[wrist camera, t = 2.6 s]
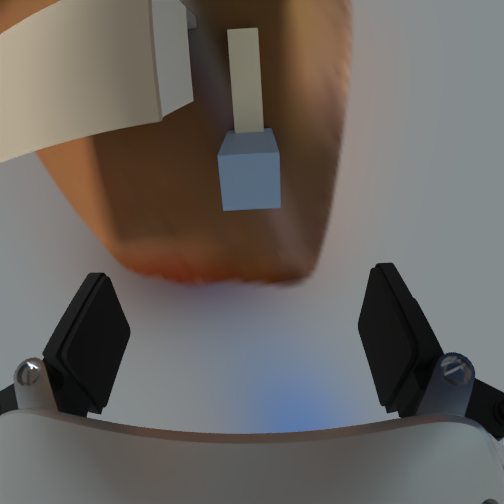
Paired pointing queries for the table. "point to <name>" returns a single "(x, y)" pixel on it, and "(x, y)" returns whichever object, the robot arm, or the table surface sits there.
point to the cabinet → (91, 70)
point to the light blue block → (248, 134)
